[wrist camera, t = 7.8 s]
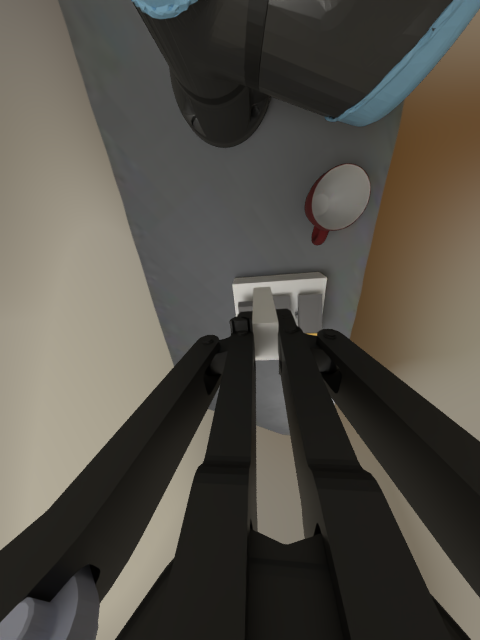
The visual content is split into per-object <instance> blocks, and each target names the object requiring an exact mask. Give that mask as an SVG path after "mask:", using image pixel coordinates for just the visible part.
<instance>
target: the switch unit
mask: <svg viewBox="0 0 480 640" xmlns="http://www.w3.org/2000/svg"><path fill="white" fill-rule="evenodd" d="M326 282H327V277H325V276H324V275H323V274H321V273H320V272H310V273H297V274H283V275H270V276H256V277H243V278H235V279H234V282H233V284H232V285H233V293H234V302H235V310H236V317H237V315H238V314H239V311H238V302H243V301H253V288H258V287H270V288H271V292H272V296H288V295H290V301H291V312H292V315H293V317H294V320H295V322H296V325H297V326H298V296H297V295H306V294H322V313H323V305H324V298H325V290H326Z"/></svg>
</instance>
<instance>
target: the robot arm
mask: <svg viewBox="0 0 480 640" xmlns="http://www.w3.org/2000/svg"><path fill="white" fill-rule="evenodd" d="M131 1H132V2H133V4H134V5H135V7H136V9H137V11H138V12H139V14H140V16H141V18H142V19H143V21H144V23H145V25H146V26H147V28H148V30H149V32H150V33H151V35H152V37H153V39H154V40H155V42H156V44H157V46H158V47H159V49H160V51H161V53H162V54H163V56H164V58H165V60H166V62H167V63H168V65H169V70H170V77H171V83H172V88H173V92H174V95H175V98H176V101H177V104H178V106H179V108H180V111H181V113H182V115H183V116H184V118H185V120H186V121H187V123H188V124H189V126H190V127H191V129H192V130H193V131H194V132H195V133H196V134H197V136H199V137H200V138H201V139H202V140H203V141H205V142H206V143H208V144H210V145H213V146H216V147H222V148H226V147H233V146H236V145H238V144H240V143H242V142H243V141H245V140H246V139H248V138H249V137H250V136H251V135H252V134H253V133H254V131H255V130H256V129H257V127H258V126H259V124H260V123H261V121H262V119H263V117H264V115H265V112H266V110H267V107H268V104H269V100H270V96H272V97H274V98H277V99H280V100H282V101H285V102H288V103H290V104H293V105H296V106H298V107H301V108H304V109H306V110H309V111H312V112H314V113H317V114H320V115H322V116H325V119H326V120H328V121H330V122H335V121H340V122H343V123H347V124H350V125H353V126H358V127H360V126H366V125H368V124H371V123H373V122H376V121H378V120H380V119H381V118H383V117H384V116H385V115H387V114H388V113H390V112H391V111H392V110H393V109H394V108H395V107H397V106H398V105H399V104H400V103H401V102H402V101H403V100H404V99H405V98H406V97H407V96H408V95H409V94H410V93H411V92H412V91H413V90H414V89H415V88H416V87H417V86H418V85H419V83H421V81H422V80H423V79H424V78H425V77H426V76H427V75H428V74H429V72H430V71H431V70H432V69H433V68H434V67H435V65H436V64H437V63H438V62H439V61H440V59H441V58H442V57H443V56H444V55H445V53H446V52H447V51H448V50H449V48H450V47H451V46H452V45H453V43H454V42H455V41H456V40H457V38H458V37H459V36H460V34H461V33H462V32H463V30H464V29H465V28H466V26H467V25H468V24H469V22H470V21H471V20H472V18H473V17H474V16H475V14H476V13H477V11H478V10H479V9H480V0H131ZM230 328H231V336H230V337H228V338H226V339H222V340H219V338H218V337H217V336H215V335H207V336H203V337H201V338H200V339H199V340H197V342H196V343H195V344H194V345H193V346H192V347H191V348H190V350H189V351H188V352H187V353H186V354H185V355H184V356H183V357H182V359H181V360H180V361H179V362H178V363H177V364H176V365H175V367H174V368H173V369H172V370H171V371H170V372H169V373H168V374H167V376H166V377H165V378H164V379H163V380H162V381H161V382H160V384H159V385H158V386H157V387H156V388H155V389H154V390H153V391H152V393H151V394H150V395H149V396H148V397H147V398H146V399H145V401H144V402H143V403H142V404H141V405H140V406H139V407H138V409H137V410H136V411H135V412H134V413H133V414H132V416H130V418H129V419H128V420H127V421H126V422H125V423H124V424H123V426H122V427H121V428H120V429H119V430H118V431H117V432H116V433H115V435H114V436H113V437H112V438H111V439H110V440H109V441H108V443H107V444H106V445H105V446H104V447H103V448H102V449H101V450H100V452H99V453H98V454H97V455H96V456H95V457H94V458H93V459H92V461H91V462H90V463H89V464H88V465H87V466H86V468H85V469H84V470H83V471H82V472H81V473H80V474H79V476H77V478H76V479H75V480H74V481H73V482H72V483H71V484H70V486H69V487H68V488H67V489H66V490H65V492H63V493H62V495H61V496H60V497H59V498H58V499H57V500H56V501H55V502H54V504H53V505H52V506H51V507H50V508H49V509H48V510H47V511H46V512H45V513H44V514H43V515H42V516H40V517H39V518H38V519H37V520H36V521H35V522H33V523H32V524H31V525H30V526H29V527H27V528H26V529H25V530H24V531H23V532H22V533H21V534H20V535H18V536H17V537H16V538H15V539H14V540H12V541H11V542H10V543H9V544H8V545H6V546H5V547H4V548H3V549H2V550H0V640H95V639H96V635H97V630H98V617H99V607H100V602H101V601H102V600H103V598H104V597H105V595H106V594H107V593H108V591H109V590H110V588H111V587H112V585H113V584H114V582H115V581H116V579H117V578H118V576H119V574H120V573H121V571H122V570H123V568H124V566H125V565H126V563H127V562H128V560H129V559H130V557H131V555H132V553H133V551H134V550H135V548H136V546H137V544H138V542H139V541H140V539H141V537H142V535H143V533H144V531H145V529H146V527H147V525H148V524H149V522H150V520H151V518H152V516H153V514H154V512H155V510H156V508H157V506H158V504H159V502H160V500H161V498H162V496H163V494H164V492H165V491H166V489H167V487H168V485H169V483H170V481H171V479H172V477H173V475H174V473H175V471H176V469H177V467H178V465H179V463H180V461H181V460H182V458H183V456H184V454H185V452H186V450H187V448H188V446H189V444H190V442H191V440H192V438H193V436H194V434H195V432H196V431H197V429H198V427H199V425H200V423H201V421H202V419H203V417H204V415H205V413H206V411H207V409H208V407H209V405H210V403H211V401H212V400H213V398H214V396H215V394H216V392H217V390H218V388H219V386H220V389H219V394H218V398H217V403H216V408H215V412H214V417H213V422H212V426H211V431H210V436H209V441H208V445H207V450H206V455H205V459H204V461H203V464H201V465H200V466H199V467H198V469H197V471H196V473H195V476H194V479H193V483H192V487H191V491H190V495H189V499H188V503H187V508H186V512H185V516H184V520H183V524H182V528H181V533H180V537H179V541H178V545H177V549H176V553H175V557H174V559H173V560H172V561H171V562H170V563H169V565H167V567H166V568H165V569H164V571H163V572H162V573H161V575H160V576H159V578H158V579H157V581H156V582H155V583H154V585H153V586H152V588H151V589H150V590H149V592H148V594H147V595H146V596H145V598H144V599H143V601H142V602H141V603H140V605H139V606H138V608H137V609H136V610H135V612H134V613H133V615H132V616H131V618H130V619H129V620H128V622H127V623H126V625H125V626H124V628H123V629H122V630H121V632H120V633H119V635H118V636H117V638H116V639H115V640H471V639H470V638H469V637H468V635H467V634H466V633H465V632H464V631H463V630H462V629H461V628H460V626H459V625H458V624H457V623H456V622H455V621H454V620H453V618H452V617H451V616H450V615H449V614H448V613H447V612H446V611H445V610H444V608H443V607H442V606H441V605H440V604H439V603H438V602H437V600H436V599H435V598H434V597H433V596H432V595H431V594H430V593H429V590H428V588H427V586H426V584H425V582H424V580H423V578H422V575H421V573H420V571H419V569H418V567H417V565H416V562H415V560H414V558H413V556H412V554H411V552H410V550H409V548H408V546H407V543H406V541H405V539H404V537H403V535H402V533H401V531H400V529H399V526H398V524H397V522H396V520H395V518H394V516H393V514H392V511H391V509H390V507H389V505H388V503H387V501H386V498H385V496H384V494H383V492H382V490H381V488H380V487H379V485H378V483H377V481H376V480H375V478H374V477H373V476H372V475H371V473H369V472H367V471H365V470H364V469H363V468H362V467H361V466H360V464H359V462H358V460H357V457H356V455H355V453H354V450H353V448H352V446H351V443H350V441H349V439H348V436H347V434H346V431H345V429H344V427H343V424H342V422H341V420H340V417H339V415H338V413H337V410H336V408H335V406H334V403H333V401H332V399H333V400H334V402H335V403H336V404H337V405H338V407H339V408H340V410H341V411H342V412H343V414H344V415H345V417H346V418H347V419H348V421H349V422H350V423H351V425H352V426H353V427H354V429H355V430H356V432H357V433H358V434H359V435H360V437H361V438H362V440H363V441H364V442H365V444H366V445H367V447H368V448H369V449H370V451H371V452H372V453H373V455H374V456H375V458H376V459H377V460H378V462H379V463H380V464H381V466H382V467H383V468H384V470H385V471H386V472H387V474H388V475H389V477H390V478H391V479H392V481H393V482H394V483H395V485H396V486H397V487H398V489H399V490H400V492H401V493H402V494H403V496H404V497H405V498H406V500H407V501H408V503H409V504H410V505H411V507H412V508H413V509H414V511H415V512H416V513H417V515H418V516H419V518H420V519H421V520H422V522H423V523H424V524H425V526H426V527H427V528H428V530H429V531H430V532H431V534H432V535H433V537H434V538H435V539H436V541H437V542H438V543H439V545H440V546H441V547H442V549H443V550H444V552H445V553H446V554H447V556H448V557H449V558H450V560H451V561H452V563H453V564H454V565H455V566H456V568H457V569H458V570H459V572H460V573H461V574H462V575H463V577H464V578H465V579H466V581H467V582H468V583H469V585H470V586H471V587H472V588H473V590H474V591H475V592H476V594H477V595H478V596H479V597H480V442H479V441H478V440H477V439H476V438H474V437H473V436H472V435H471V434H469V433H468V432H467V431H466V430H464V429H463V428H462V427H460V426H459V425H458V424H457V423H455V422H454V421H453V420H452V419H450V418H449V417H447V416H446V415H445V414H444V413H443V412H441V411H440V410H439V409H438V408H436V407H435V406H434V405H432V404H431V403H430V402H429V401H427V400H426V399H425V398H423V397H422V396H421V395H420V394H418V393H417V392H416V391H414V390H413V389H412V388H410V387H409V386H408V385H407V384H406V383H404V382H403V381H401V380H400V379H399V378H398V377H397V376H395V375H394V374H393V373H392V372H390V371H389V370H388V369H387V368H385V367H384V366H383V365H381V364H380V363H379V362H378V361H376V360H375V359H374V358H372V357H371V356H370V355H369V354H367V353H366V352H365V351H364V350H362V349H361V348H360V347H358V346H357V345H356V344H355V343H353V342H352V341H351V340H350V339H348V338H347V337H346V336H344V335H343V334H342V333H340V332H338V331H336V330H333V329H323V330H320V331H318V332H317V336H316V335H309V334H305V333H303V331H302V329H301V328H300V327H298V326H297V325H296V322H295V320H294V317H293V315H292V312H291V311H290V310H289V309H287V308H286V309H275V305H274V301H273V296H272V292H271V288H270V287H258V288H253V311H244V312H240V313H239V314H238V315H237V317H234V318H232V319H231V320H230ZM255 360H279V374H281V380H282V386H283V393H284V399H285V405H286V411H287V417H288V424H289V430H290V436H291V442H292V448H293V454H294V461H295V467H296V473H297V480H298V486H299V492H300V498H301V505H302V516H303V527H304V536H305V539H303V540H300V541H297V542H294V543H292V544H288V545H287V544H282V543H279V542H278V541H275V540H273V539H271V538H269V537H267V536H265V535H263V534H261V533H259V532H257V503H256V363H255ZM331 398H332V399H331Z"/></svg>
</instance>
